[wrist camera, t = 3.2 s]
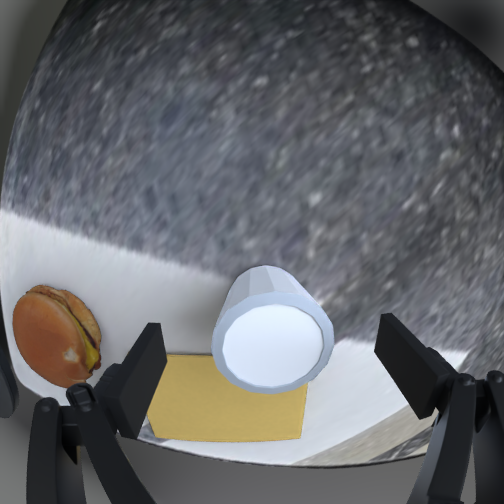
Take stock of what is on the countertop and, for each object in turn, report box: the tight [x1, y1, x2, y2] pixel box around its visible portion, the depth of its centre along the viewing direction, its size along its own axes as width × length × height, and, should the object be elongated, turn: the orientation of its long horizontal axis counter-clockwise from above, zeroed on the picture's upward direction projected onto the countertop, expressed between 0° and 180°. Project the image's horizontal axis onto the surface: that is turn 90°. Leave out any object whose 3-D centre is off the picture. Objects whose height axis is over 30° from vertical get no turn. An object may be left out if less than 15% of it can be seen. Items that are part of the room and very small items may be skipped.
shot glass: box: [211, 265, 334, 394], centre depth 18 cm, size 7×7×7 cm
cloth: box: [128, 352, 308, 442], centre depth 24 cm, size 16×12×1 cm
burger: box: [13, 285, 101, 388], centre depth 19 cm, size 10×9×5 cm
